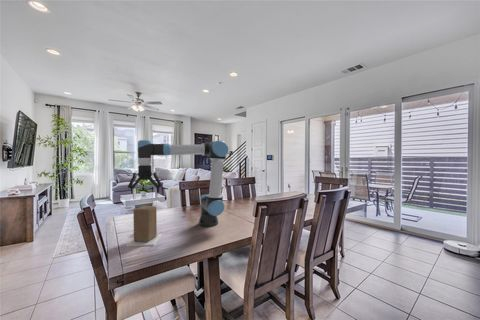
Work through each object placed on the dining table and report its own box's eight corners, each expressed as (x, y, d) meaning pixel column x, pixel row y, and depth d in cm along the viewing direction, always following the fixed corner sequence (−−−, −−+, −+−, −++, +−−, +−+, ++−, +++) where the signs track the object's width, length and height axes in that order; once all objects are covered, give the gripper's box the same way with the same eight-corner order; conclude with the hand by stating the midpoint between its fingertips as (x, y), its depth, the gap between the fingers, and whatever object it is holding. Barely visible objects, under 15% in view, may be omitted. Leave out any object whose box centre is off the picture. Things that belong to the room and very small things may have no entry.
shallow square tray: (162, 235, 137) (162, 233, 137) (154, 245, 121) (154, 244, 121) (137, 235, 136) (137, 234, 136) (126, 246, 120) (126, 244, 120)
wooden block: (147, 242, 123) (147, 209, 122) (133, 241, 125) (132, 209, 124) (157, 236, 133) (157, 205, 132) (143, 235, 134) (143, 205, 134)
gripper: (166, 164, 132) (167, 196, 133) (127, 165, 131) (128, 197, 131) (163, 164, 125) (164, 199, 125) (121, 165, 123) (122, 200, 124)
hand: (145, 198), depth 128 cm, fingers open, 13 cm apart
